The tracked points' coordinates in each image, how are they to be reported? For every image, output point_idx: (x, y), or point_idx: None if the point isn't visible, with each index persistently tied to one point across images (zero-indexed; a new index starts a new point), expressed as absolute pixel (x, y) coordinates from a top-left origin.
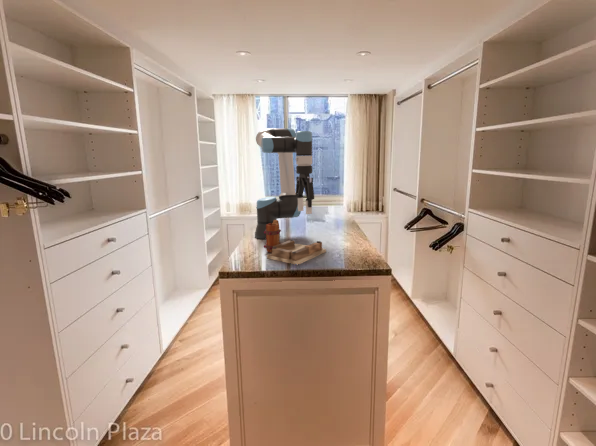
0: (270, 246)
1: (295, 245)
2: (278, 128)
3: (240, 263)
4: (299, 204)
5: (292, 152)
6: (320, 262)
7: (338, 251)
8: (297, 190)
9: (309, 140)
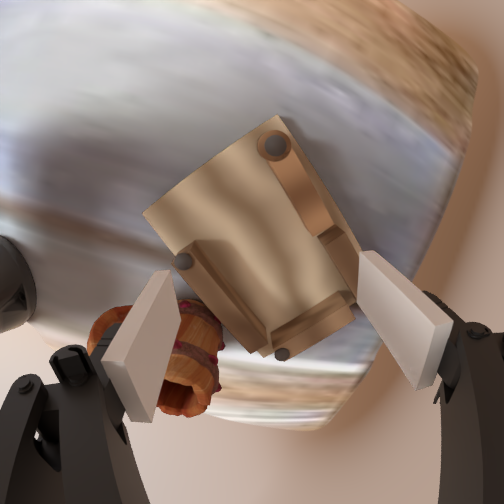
0: (218, 350)
1: (168, 228)
2: None
3: (279, 409)
4: (163, 352)
5: None
6: (387, 198)
7: (289, 65)
8: (60, 493)
9: None
